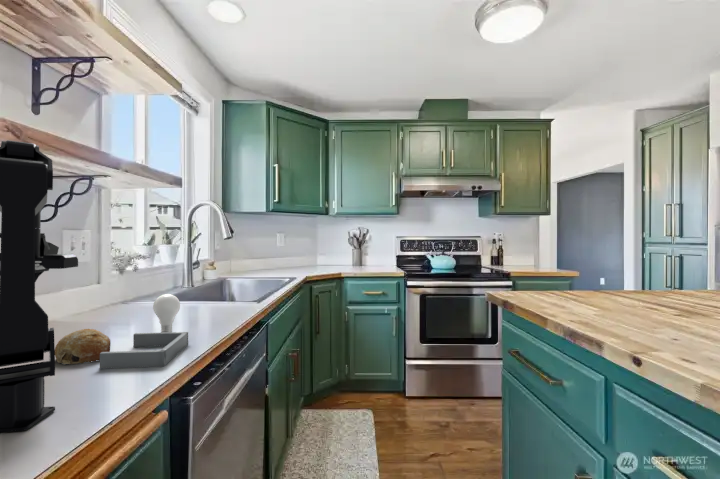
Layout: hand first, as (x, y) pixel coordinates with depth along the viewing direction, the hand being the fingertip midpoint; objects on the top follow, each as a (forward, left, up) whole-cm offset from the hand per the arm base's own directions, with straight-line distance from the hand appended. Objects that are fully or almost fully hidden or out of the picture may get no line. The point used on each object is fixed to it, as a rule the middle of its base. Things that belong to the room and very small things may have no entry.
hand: (22, 302), depth 81 cm
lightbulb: (+17, -23, -12) cm, 31 cm away
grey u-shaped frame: (0, -25, -12) cm, 28 cm away
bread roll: (0, -12, -12) cm, 17 cm away
